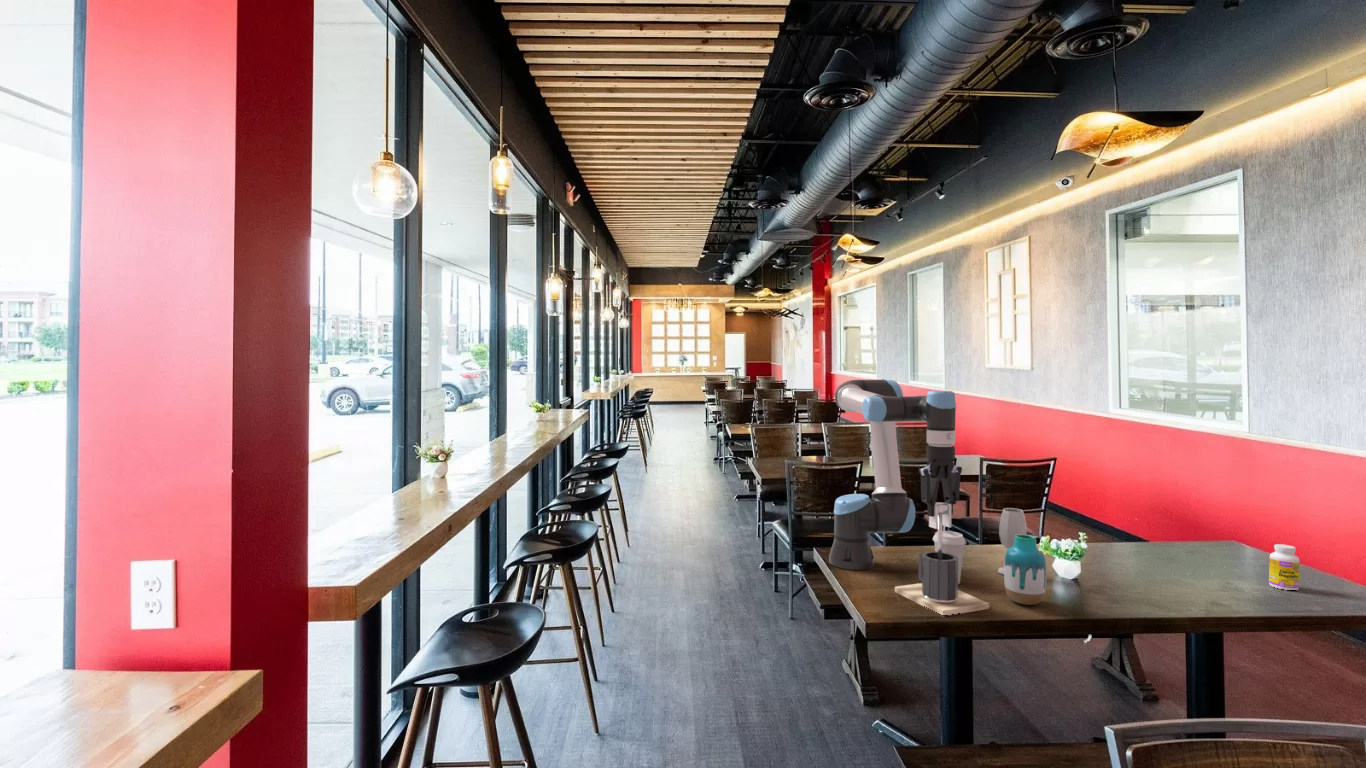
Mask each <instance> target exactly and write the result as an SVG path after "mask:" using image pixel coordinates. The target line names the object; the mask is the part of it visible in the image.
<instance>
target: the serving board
mask: <svg viewBox="0 0 1366 768" xmlns="http://www.w3.org/2000/svg"><path fill="white" fill-rule="evenodd" d="M894 592H895V593H896V594H899V595H900V596H902V597H904V598H905V599H908V600H910V601H912V602H914V603H916V604H918V605H920V606H922V607H924V606H925V607H924V608H926V607H927V608H926V609H928V608H929V609H928V610H930V609H931V610H930V611H932V610H933V611H932V612H934V611H935V612H934V613H936V612H937V613H936V614H938V613H939V614H941V615H948V616H953V615H952V614H954V615H959V614H958V613H960V614H966V613H971V612H976V611H977V612H978V611H984V610H989V609H990V603H989V602H987V601H985V600H982V599H980V598H979V597H975V596H973V595H971V594H969V593H967V592H964V591H962V590H961V589H960V590H959V589H958V597H957V602H955V603H952V604H940V603H934V602H930V601H928V600H926V599H924V598H923V596H922V582H921V583H913V584H906V585H905V584H904V585H897V586H894ZM939 614H938V615H939ZM941 615H940V616H941Z"/></svg>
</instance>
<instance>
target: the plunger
mask: <svg viewBox="0 0 1366 768" xmlns="http://www.w3.org/2000/svg"><path fill="white" fill-rule="evenodd" d="M935 505H937V506H938V529H937V532H938V560H942V531H943V525H942V518H943V514H948V504H947V503H946V502H937V501H936V504H935Z"/></svg>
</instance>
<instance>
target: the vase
mask: <svg viewBox="0 0 1366 768" xmlns="http://www.w3.org/2000/svg"><path fill="white" fill-rule="evenodd" d="M1037 546H1038V545H1037V538H1036V536H1034V535H1031V534H1027V533H1026V534H1017V535H1015V538H1014V546H1013V547H1011V548H1009V549H1006V552H1005V554H1004V561H1003V563H1004V564H1003V565H1004V566H1003V567H1004V575H1003V579H1004V580H1003V581H1004V583H1003V584H1004V590H1005V593H1006V595H1007V596H1008V598H1009V599H1010V600H1011V601H1013V602H1016V603H1018V604H1021V605H1026V606H1033V605H1039V604H1040V603H1041V602H1042V601H1044V599H1045V595H1046V590H1047V562H1046V557H1045V555H1044V553H1043V552H1042V551H1040V550H1039V549H1038V547H1037Z"/></svg>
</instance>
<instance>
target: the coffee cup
mask: <svg viewBox="0 0 1366 768" xmlns="http://www.w3.org/2000/svg"><path fill="white" fill-rule="evenodd" d="M934 533H935V534H934V535H933V537H932V541H933V542H934V552H938V531H935V532H934ZM965 544H966V539H965V538H964V536H963V534H962V533H960V532H956V531H950V530H942V552H944V553H949V554H952V555H955V556H957V558H958V585H959V584H960V583H961V574H962V566H963V554H964V546H965Z"/></svg>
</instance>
